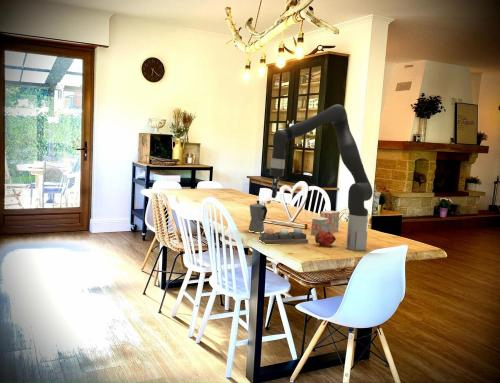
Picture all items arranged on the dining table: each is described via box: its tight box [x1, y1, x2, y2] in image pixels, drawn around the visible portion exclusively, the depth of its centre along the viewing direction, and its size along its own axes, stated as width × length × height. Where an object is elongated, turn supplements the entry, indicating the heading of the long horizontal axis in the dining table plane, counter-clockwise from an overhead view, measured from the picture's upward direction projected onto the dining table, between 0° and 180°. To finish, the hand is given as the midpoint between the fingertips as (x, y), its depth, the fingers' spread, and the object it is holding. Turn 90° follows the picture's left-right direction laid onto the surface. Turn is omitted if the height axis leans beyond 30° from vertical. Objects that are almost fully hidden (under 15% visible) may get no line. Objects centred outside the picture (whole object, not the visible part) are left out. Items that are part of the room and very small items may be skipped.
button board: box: [258, 231, 309, 245], centre depth 239 cm, size 10×24×4 cm, turn 111°
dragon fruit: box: [314, 231, 337, 247], centre depth 236 cm, size 8×8×12 cm
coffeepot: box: [248, 199, 268, 232], centre depth 260 cm, size 15×9×18 cm, turn 33°
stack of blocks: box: [310, 210, 340, 236], centre depth 270 cm, size 21×6×12 cm, turn 142°
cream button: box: [279, 228, 289, 235], centre depth 239 cm, size 4×4×3 cm
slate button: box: [292, 227, 303, 234], centre depth 242 cm, size 4×4×3 cm
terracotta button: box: [264, 228, 275, 235], centre depth 236 cm, size 4×4×3 cm
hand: (274, 196), depth 251 cm, fingers open, 8 cm apart
